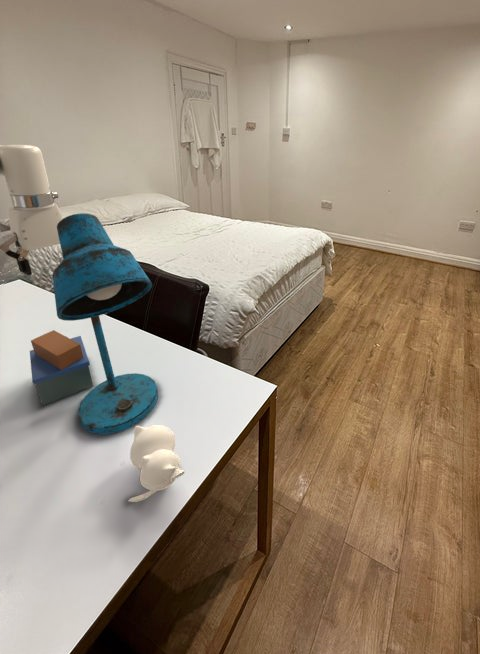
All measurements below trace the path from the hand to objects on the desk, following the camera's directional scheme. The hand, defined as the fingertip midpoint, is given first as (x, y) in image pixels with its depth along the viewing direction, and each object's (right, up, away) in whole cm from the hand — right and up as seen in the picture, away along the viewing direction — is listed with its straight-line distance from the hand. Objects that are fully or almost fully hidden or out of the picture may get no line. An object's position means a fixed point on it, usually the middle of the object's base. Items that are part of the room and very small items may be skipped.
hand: (49, 267), depth 81 cm
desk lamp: (+23, -32, -8) cm, 41 cm away
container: (+5, -29, -1) cm, 29 cm away
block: (+5, -21, -4) cm, 22 cm away
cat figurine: (+36, -38, -21) cm, 57 cm away
